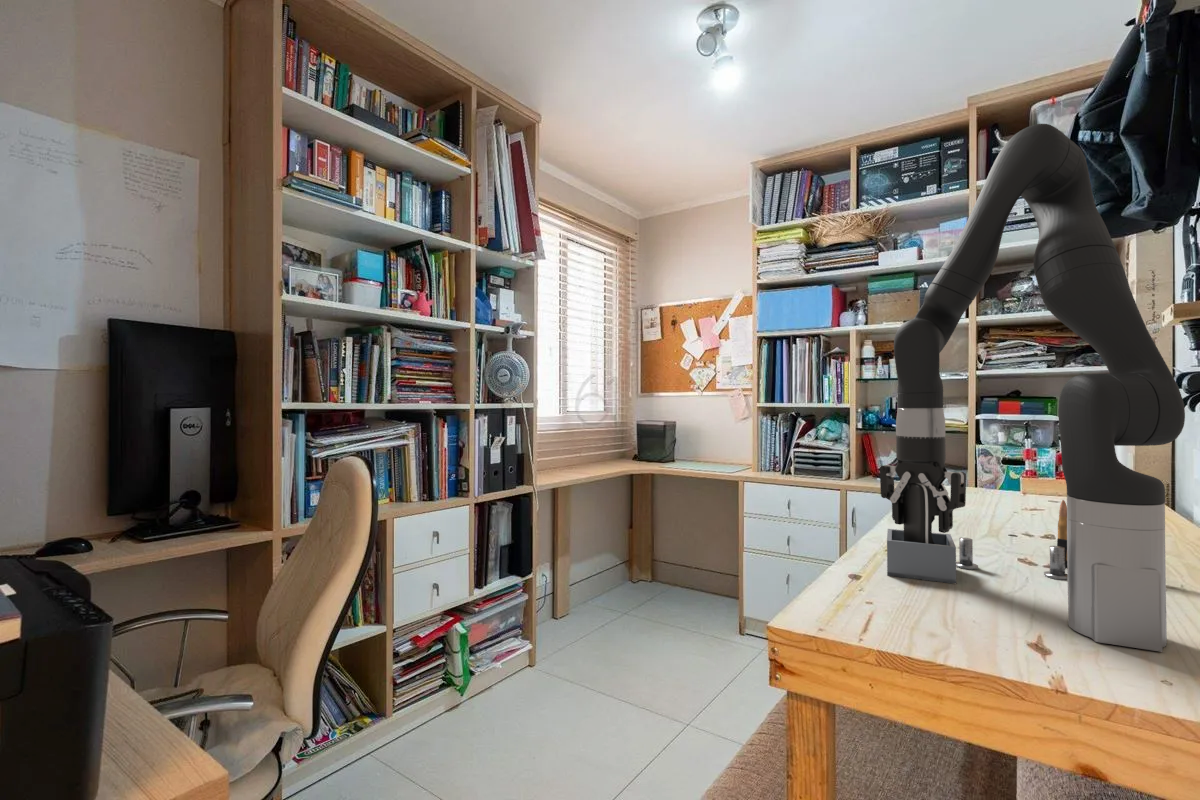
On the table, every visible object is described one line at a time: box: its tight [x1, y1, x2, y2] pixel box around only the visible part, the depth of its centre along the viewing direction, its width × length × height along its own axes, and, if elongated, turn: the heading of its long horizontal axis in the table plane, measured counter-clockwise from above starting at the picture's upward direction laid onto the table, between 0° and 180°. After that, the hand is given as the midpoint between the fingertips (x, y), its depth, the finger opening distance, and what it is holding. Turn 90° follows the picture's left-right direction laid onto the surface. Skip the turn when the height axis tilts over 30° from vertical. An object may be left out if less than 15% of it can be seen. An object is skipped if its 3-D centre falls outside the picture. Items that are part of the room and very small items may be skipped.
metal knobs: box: [956, 537, 1068, 581], centre depth 97 cm, size 4×17×5 cm, turn 62°
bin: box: [886, 528, 957, 584], centre depth 98 cm, size 10×10×6 cm
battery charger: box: [903, 483, 940, 544], centre depth 98 cm, size 7×4×11 cm, turn 176°
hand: (921, 527), depth 98 cm, fingers closed on battery charger, 7 cm apart
